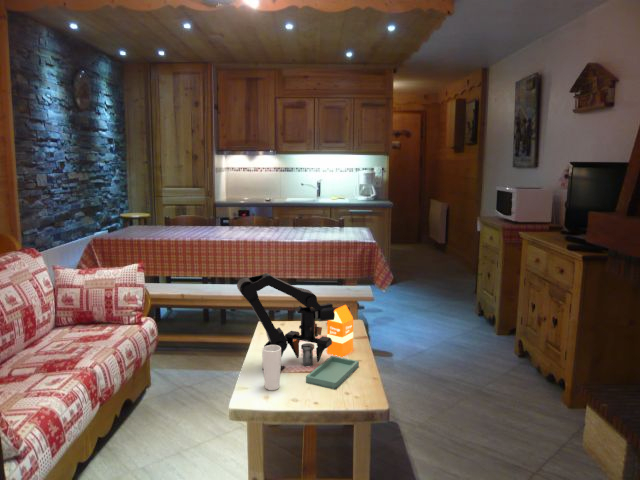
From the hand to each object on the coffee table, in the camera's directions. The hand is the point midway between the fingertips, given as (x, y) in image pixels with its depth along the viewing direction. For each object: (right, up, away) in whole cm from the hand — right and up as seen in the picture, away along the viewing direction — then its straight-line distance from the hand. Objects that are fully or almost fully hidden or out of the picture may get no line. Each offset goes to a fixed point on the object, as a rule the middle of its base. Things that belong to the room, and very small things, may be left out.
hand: (307, 359), depth 205 cm
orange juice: (+13, 0, +14) cm, 19 cm away
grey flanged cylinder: (0, -2, 0) cm, 2 cm away
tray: (+10, -4, -9) cm, 14 cm away
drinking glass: (-12, -6, -20) cm, 24 cm away
